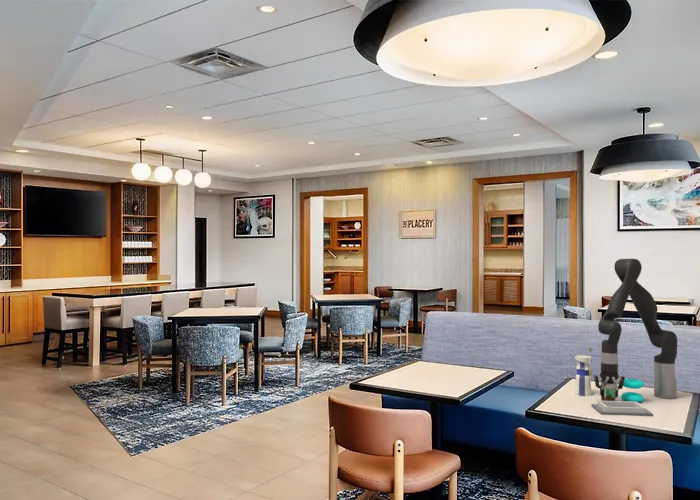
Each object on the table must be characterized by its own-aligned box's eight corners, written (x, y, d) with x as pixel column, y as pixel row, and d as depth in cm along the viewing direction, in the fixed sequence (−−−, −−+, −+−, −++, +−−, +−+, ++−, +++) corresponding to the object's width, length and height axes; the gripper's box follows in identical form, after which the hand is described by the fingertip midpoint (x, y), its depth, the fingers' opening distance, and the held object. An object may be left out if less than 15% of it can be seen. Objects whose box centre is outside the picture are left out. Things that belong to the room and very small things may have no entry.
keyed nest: (640, 407, 265) (640, 401, 265) (653, 416, 251) (653, 409, 251) (591, 406, 267) (591, 399, 267) (601, 414, 254) (601, 407, 254)
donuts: (648, 381, 275) (632, 383, 272) (648, 402, 275) (632, 404, 271) (632, 377, 284) (616, 378, 281) (632, 397, 284) (616, 399, 281)
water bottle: (593, 393, 291) (593, 344, 292) (590, 397, 284) (590, 347, 284) (576, 391, 296) (576, 343, 296) (573, 394, 289) (573, 345, 289)
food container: (620, 406, 267) (620, 384, 268) (606, 405, 269) (606, 384, 269) (613, 399, 280) (613, 379, 280) (600, 398, 281) (600, 378, 281)
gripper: (622, 361, 277) (621, 396, 277) (591, 360, 279) (591, 394, 279) (627, 364, 270) (627, 399, 270) (596, 362, 271) (595, 398, 271)
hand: (608, 397), depth 274 cm, fingers closed on food container, 5 cm apart
